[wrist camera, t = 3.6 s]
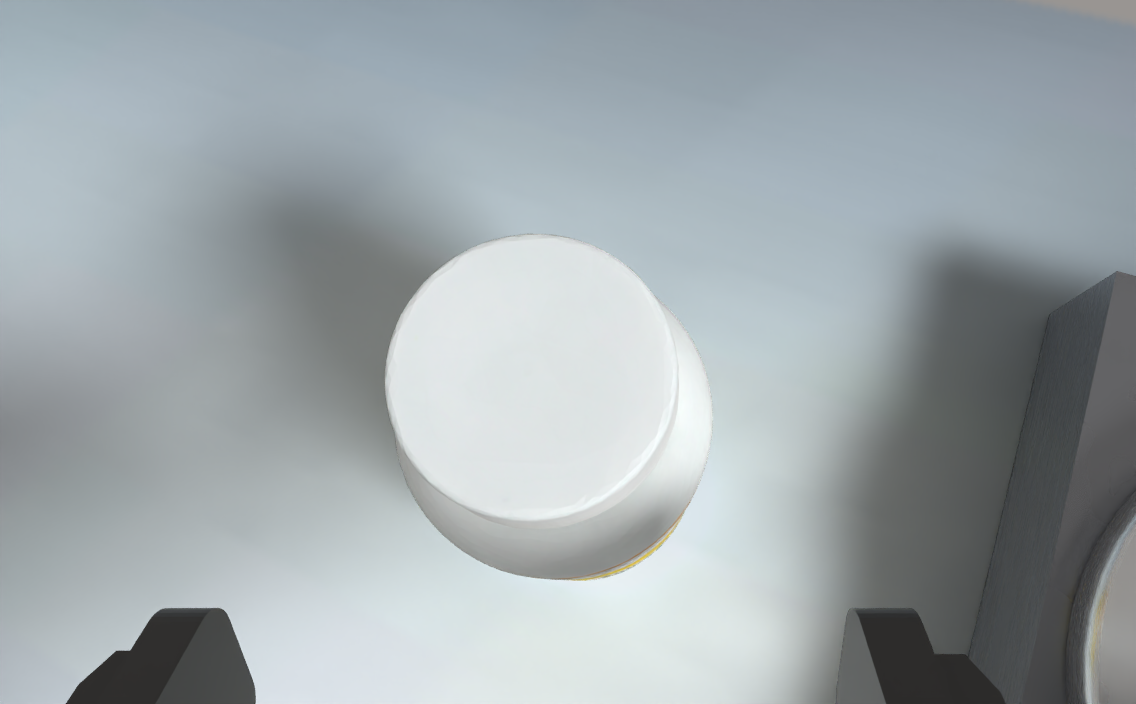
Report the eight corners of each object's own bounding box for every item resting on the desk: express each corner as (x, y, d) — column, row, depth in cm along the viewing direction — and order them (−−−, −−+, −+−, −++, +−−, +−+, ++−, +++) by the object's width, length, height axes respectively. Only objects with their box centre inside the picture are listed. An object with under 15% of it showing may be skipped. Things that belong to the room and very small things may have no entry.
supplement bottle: (663, 606, 19) (678, 636, 10) (445, 545, 20) (275, 520, 11) (714, 386, 20) (769, 231, 11) (507, 337, 21) (401, 154, 12)
